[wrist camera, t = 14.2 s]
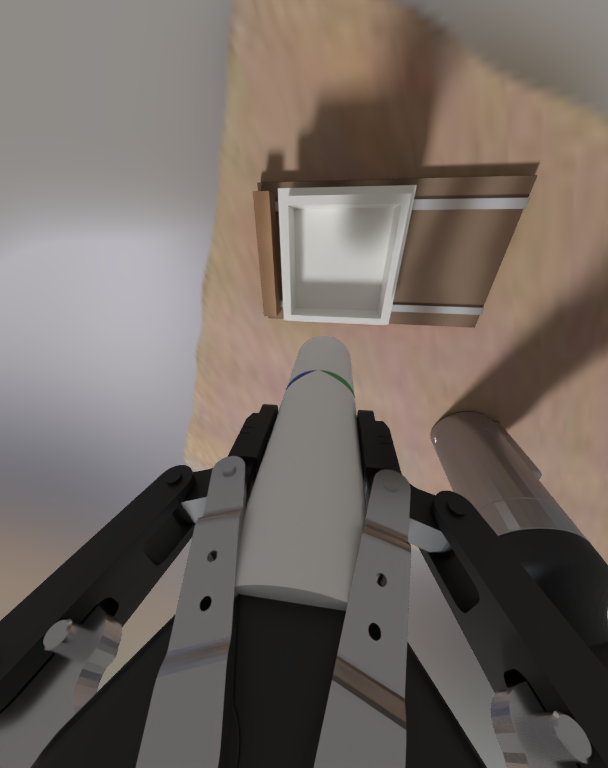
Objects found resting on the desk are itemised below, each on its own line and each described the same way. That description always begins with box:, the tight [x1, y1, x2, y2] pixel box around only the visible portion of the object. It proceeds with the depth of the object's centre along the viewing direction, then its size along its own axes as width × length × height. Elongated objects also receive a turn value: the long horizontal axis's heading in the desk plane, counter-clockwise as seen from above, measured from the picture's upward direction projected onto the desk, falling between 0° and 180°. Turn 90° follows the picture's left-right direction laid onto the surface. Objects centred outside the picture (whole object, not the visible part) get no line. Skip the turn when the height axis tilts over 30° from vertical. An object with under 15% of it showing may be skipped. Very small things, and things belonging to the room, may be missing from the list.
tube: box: [235, 336, 367, 611], centre depth 12 cm, size 4×4×15 cm
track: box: [253, 175, 537, 327], centre depth 25 cm, size 26×14×3 cm, turn 90°
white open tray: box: [278, 185, 417, 325], centre depth 23 cm, size 12×12×6 cm
